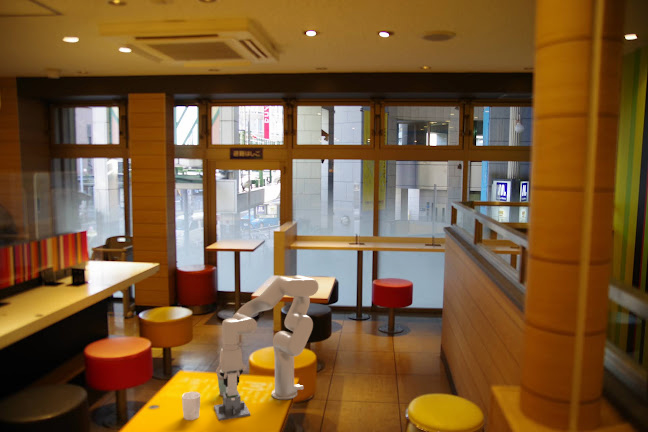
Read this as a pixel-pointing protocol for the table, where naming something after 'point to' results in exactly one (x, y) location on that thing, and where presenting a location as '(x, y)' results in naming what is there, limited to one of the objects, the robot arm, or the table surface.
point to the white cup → (191, 405)
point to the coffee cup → (221, 384)
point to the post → (231, 384)
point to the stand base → (231, 408)
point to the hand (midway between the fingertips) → (231, 384)
